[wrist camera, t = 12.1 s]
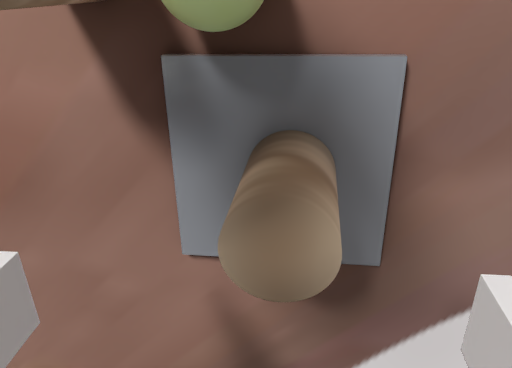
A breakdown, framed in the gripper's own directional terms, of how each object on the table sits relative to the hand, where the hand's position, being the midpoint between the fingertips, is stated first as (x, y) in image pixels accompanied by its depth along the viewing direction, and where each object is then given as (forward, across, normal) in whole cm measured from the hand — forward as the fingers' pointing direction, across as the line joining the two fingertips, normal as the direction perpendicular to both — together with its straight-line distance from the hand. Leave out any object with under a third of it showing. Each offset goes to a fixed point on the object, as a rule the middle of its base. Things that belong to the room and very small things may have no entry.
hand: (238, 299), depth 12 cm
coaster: (+10, +1, 0) cm, 11 cm away
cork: (+10, +1, 0) cm, 10 cm away
